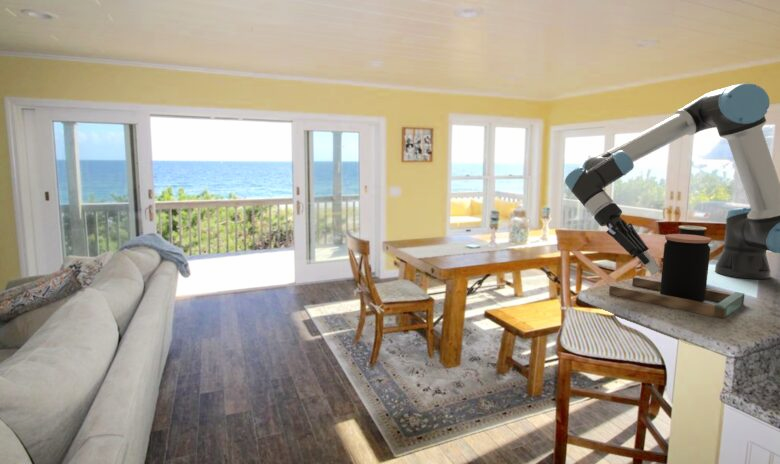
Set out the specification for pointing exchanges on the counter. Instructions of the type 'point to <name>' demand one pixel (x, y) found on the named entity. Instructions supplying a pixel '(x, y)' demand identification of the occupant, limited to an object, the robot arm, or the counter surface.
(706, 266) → the coffee jar
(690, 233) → the travel mug
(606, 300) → the counter surface
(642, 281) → the bay
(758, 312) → the counter surface
